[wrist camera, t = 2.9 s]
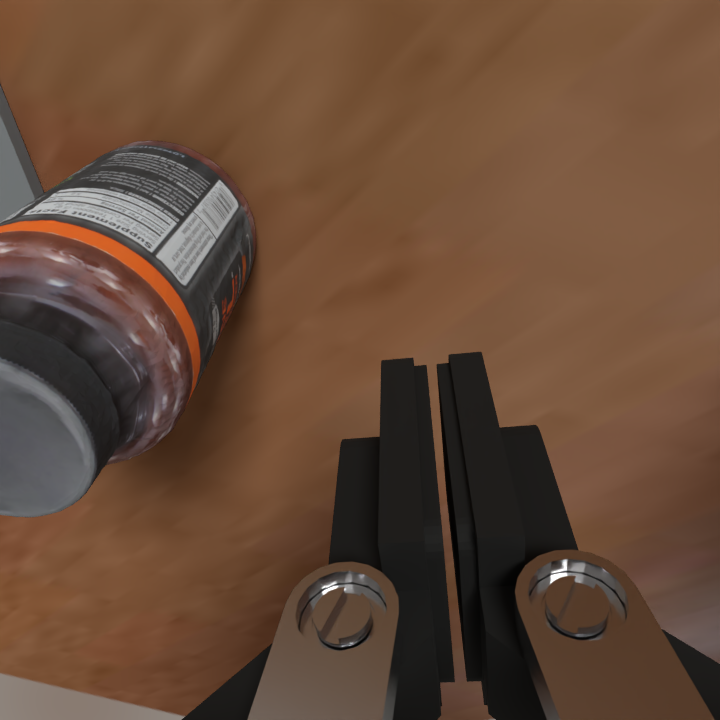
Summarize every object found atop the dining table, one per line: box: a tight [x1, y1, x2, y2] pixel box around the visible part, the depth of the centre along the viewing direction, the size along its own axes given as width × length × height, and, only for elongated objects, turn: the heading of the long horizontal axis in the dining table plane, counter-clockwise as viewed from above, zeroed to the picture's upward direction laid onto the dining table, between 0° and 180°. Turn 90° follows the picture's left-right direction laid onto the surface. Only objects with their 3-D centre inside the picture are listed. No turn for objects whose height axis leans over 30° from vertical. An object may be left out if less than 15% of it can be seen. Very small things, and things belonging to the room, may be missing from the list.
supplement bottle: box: [0, 141, 256, 517], centre depth 16 cm, size 6×6×11 cm
